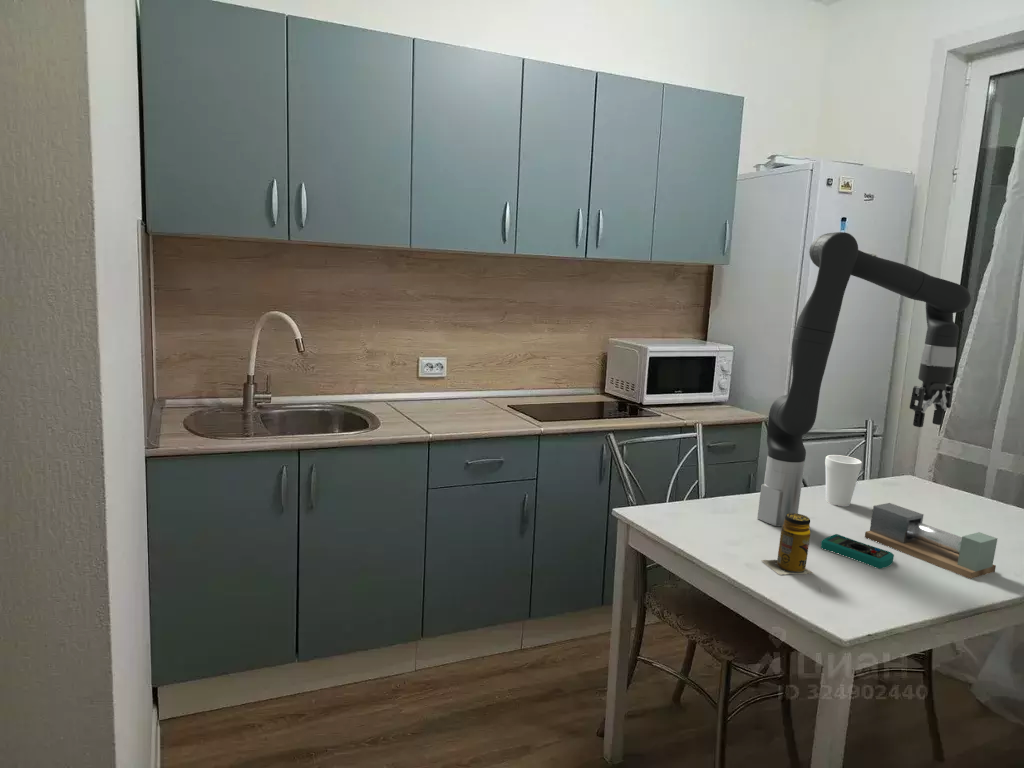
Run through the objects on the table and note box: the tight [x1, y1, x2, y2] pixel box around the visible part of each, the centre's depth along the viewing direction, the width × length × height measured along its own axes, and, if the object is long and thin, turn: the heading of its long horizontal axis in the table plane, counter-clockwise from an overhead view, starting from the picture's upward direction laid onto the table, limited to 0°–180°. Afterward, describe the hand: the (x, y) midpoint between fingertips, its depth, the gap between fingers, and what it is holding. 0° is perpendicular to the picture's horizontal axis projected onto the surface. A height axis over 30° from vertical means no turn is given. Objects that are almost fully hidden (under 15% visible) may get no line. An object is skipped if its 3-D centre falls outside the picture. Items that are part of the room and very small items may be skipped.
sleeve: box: [869, 502, 924, 544], centre depth 182 cm, size 7×9×7 cm
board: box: [864, 530, 996, 580], centre depth 176 cm, size 10×26×2 cm, turn 30°
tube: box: [907, 520, 962, 554], centre depth 173 cm, size 4×19×4 cm, turn 30°
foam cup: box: [824, 454, 863, 507], centre depth 210 cm, size 10×9×13 cm
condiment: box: [761, 513, 814, 576], centre depth 162 cm, size 7×8×12 cm
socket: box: [957, 531, 998, 572], centre depth 166 cm, size 7×4×7 cm, turn 120°
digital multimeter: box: [820, 533, 895, 570], centre depth 172 cm, size 7×15×3 cm, turn 41°
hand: (927, 425), depth 188 cm, fingers open, 8 cm apart
